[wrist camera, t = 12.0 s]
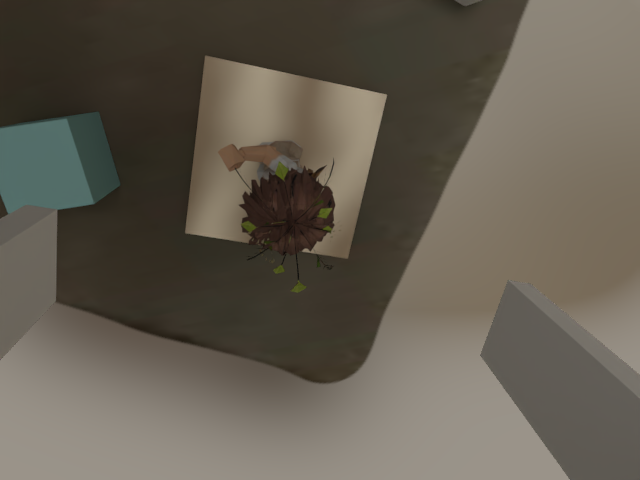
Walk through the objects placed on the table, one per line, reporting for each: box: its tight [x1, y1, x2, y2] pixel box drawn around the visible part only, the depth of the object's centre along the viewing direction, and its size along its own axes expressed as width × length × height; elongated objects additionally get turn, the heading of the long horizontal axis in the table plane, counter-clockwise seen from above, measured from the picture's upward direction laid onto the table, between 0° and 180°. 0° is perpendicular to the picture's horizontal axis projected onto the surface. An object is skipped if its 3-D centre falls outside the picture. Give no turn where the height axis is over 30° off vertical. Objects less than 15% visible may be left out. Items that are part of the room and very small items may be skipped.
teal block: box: [0, 112, 120, 214], centre depth 29 cm, size 5×5×5 cm
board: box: [185, 56, 387, 259], centre depth 32 cm, size 12×12×1 cm
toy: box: [218, 140, 341, 292], centre depth 25 cm, size 6×6×15 cm
